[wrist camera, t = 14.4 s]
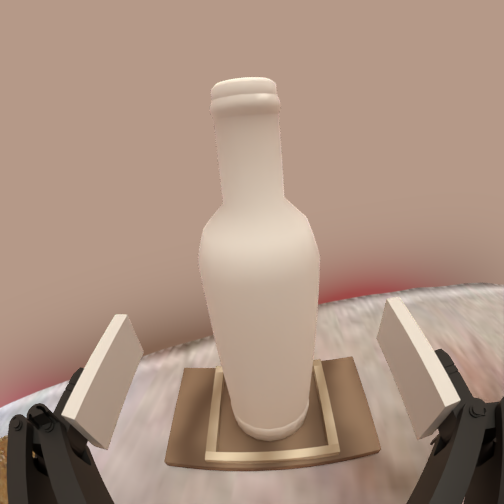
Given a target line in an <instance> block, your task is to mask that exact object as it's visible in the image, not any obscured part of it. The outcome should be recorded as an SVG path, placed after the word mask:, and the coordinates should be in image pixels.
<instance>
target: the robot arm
mask: <svg viewBox="0 0 504 504" xmlns="http://www.w3.org/2000/svg"><path fill="white" fill-rule="evenodd" d="M377 341H378V343H379V345H380V347H381V349H382V352H383V354H384V356H385V358H386V361H387V363H388V365H389V368H390V370H391V372H392V375H393V377H394V380H395V382H396V384H397V387H398V389H399V392H400V394H401V397H402V399H403V402H404V405H405V407H406V410H407V412H408V415H409V418H410V421H411V423H412V426H413V429H414V432H415V435H416V437H417V440H419V439H421V438H424V437H427V436H429V435H432V434H433V433H434V432H435V430H436V429H437V428H438V430H439V434H438V435H437V436H436V437H435V438H434V439H433V440H432V442H431V444H430V445H432V444H433V443H434V442H435V441H436V442H435V444H434V447H433V449H432V452H431V454H430V457H429V459H428V461H427V464H426V466H425V468H424V470H423V473H422V475H421V477H420V479H419V481H418V483H417V485H416V487H415V489H414V491H413V493H412V494H411V496H410V498H409V500H408V502H407V504H462V502H463V499H464V497H465V500H464V504H504V397H503V398H502V399H501V401H500V402H494V403H485V402H484V401H483V400H481V399H479V398H474V397H473V396H472V394H471V393H470V391H469V389H468V387H467V385H466V383H465V382H464V380H463V378H462V376H461V375H460V373H459V372H458V369H457V368H456V366H454V363H453V361H452V359H451V358H450V356H449V355H448V354H447V353H446V352H445V351H443V350H442V349H438V350H435V351H434V350H433V349H432V347H431V345H430V344H429V342H428V340H427V339H426V337H425V335H424V334H423V332H422V331H421V329H420V327H419V326H418V324H417V323H416V321H415V320H414V318H413V317H412V315H411V314H410V312H409V310H408V309H407V307H406V306H405V304H404V303H403V302H402V300H401V299H400V297H395V298H389V299H386V303H385V308H384V312H383V316H382V320H381V324H380V328H379V332H378V335H377ZM143 352H144V351H143V349H142V347H141V345H140V342H139V340H138V338H137V336H136V334H135V332H134V329H133V327H132V324H131V322H130V320H129V317H128V315H122V314H116V315H115V316H114V318H113V319H112V321H111V323H110V324H109V326H108V328H107V329H106V331H105V333H104V335H103V336H102V338H101V340H100V341H99V343H98V345H97V347H96V348H95V350H94V352H93V354H92V355H91V357H90V359H89V361H88V363H87V365H86V366H85V368H79V369H78V370H77V371H76V372H75V373H74V374H73V376H72V377H71V379H70V381H69V384H68V385H67V387H66V390H65V391H64V393H63V395H62V397H61V398H60V400H59V402H58V404H57V407H56V409H55V411H54V412H53V413H52V412H51V411H50V410H49V409H48V408H47V407H46V406H45V405H44V404H41V403H39V404H35V405H33V406H32V407H31V408H30V409H29V411H28V413H27V418H26V417H24V416H23V415H21V414H18V415H15V416H14V417H13V418H12V419H11V421H10V424H9V431H8V442H7V494H8V504H114V502H113V500H112V498H111V496H110V494H109V492H108V490H107V488H106V486H105V484H104V482H103V480H102V478H101V476H100V474H99V471H98V469H97V467H96V464H95V462H94V460H93V457H92V455H91V452H90V449H89V448H88V446H87V445H86V444H87V441H89V442H90V443H91V444H93V445H94V446H96V447H99V448H102V449H106V450H108V447H109V444H110V441H111V438H112V435H113V432H114V429H115V426H116V423H117V420H118V418H119V415H120V412H121V409H122V406H123V404H124V401H125V398H126V395H127V393H128V390H129V388H130V385H131V382H132V380H133V377H134V375H135V372H136V369H137V367H138V364H139V362H140V359H141V357H142V354H143ZM33 452H34V453H35V457H33Z"/></svg>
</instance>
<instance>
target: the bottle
mask: <svg viewBox="0 0 504 504" xmlns="http://www.w3.org/2000/svg"><path fill="white" fill-rule="evenodd" d="M211 100H212V102H211V105H210V115H211V116H212V118H213V120H214V129H215V138H216V147H217V156H218V165H219V173H220V182H221V190H222V199H223V204H222V205H221V206H220V207H219V209H218V210H217V211H216V212H215V213H214V215H213V216H212V217H211V219H210V220H209V221H208V222H207V224H206V225H205V227H204V229H203V232H202V237H201V242H200V247H199V255H198V265H199V270H200V275H201V280H202V285H203V289H204V294H205V299H206V303H207V307H208V312H209V316H210V321H211V325H212V329H213V334H214V338H215V342H216V346H217V350H218V354H219V358H220V362H221V366H222V369H223V373H224V377H225V381H226V384H227V388H228V392H229V395H230V399H231V406H232V409H233V413H234V416H235V419H236V421H237V422H238V425H239V427H240V428H241V429H242V430H243V431H244V432H245V433H246V434H247V435H249V436H251V437H253V438H255V439H258V440H264V441H275V440H281V439H284V438H286V437H288V436H290V435H292V434H294V433H295V432H296V431H297V430H298V429H299V428H300V427H301V426H302V425H303V422H304V420H305V417H306V413H307V410H308V407H309V391H310V383H311V375H312V366H313V356H314V346H315V335H316V323H317V309H318V292H319V272H320V253H319V250H318V247H317V243H316V240H315V237H314V234H313V232H312V229H311V226H310V224H309V221H308V219H307V217H306V216H305V215H304V214H303V213H301V212H300V211H299V210H298V209H297V208H296V207H295V206H293V205H292V204H291V203H290V202H289V201H288V200H287V199H286V198H285V197H284V185H283V184H284V183H283V166H282V151H281V137H280V124H279V112H280V109H281V103H280V99H279V98H278V96H277V89H276V83H275V82H273V81H272V80H271V79H268V78H261V77H247V78H236V79H230V80H226V81H221V82H219V83H217V84H216V85H215V86H214V87H213V88H212V89H211Z"/></svg>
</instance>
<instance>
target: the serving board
mask: <svg viewBox="0 0 504 504" xmlns="http://www.w3.org/2000/svg"><path fill="white" fill-rule="evenodd" d="M380 450H381V447H380V443H379V440H378V436H377V433H376V429H375V426H374V422H373V419H372V416H371V412H370V409H369V406H368V402H367V399H366V396H365V393H364V390H363V387H362V384H361V381H360V378H359V375H358V372H357V369H356V366H355V363H354V360H353V357H347V358H340V359H333V360H326V361H321V359H319V360H313V366H312V375H311V383H310V391H309V407H308V410H307V413H306V417H305V420H304V422H303V425H302V426H301V427H300V428H299V429H298V430H297V431H296V432H295V433H294V434H292V435H290V436H288V437H286V438H284V439H281V440H275V441H264V440H258V439H255V438H253V437H251V436H249V435H247V434H246V433H245V432H244V431H243V430H242V429H241V428H240V427H239V425H238V422H237V421H236V419H235V416H234V413H233V409H232V406H231V399H230V395H229V392H228V388H227V384H226V381H225V377H224V373H223V369H222V366H216V368H184V373H183V377H182V381H181V386H180V390H179V394H178V399H177V403H176V408H175V412H174V417H173V422H172V426H171V431H170V436H169V441H168V446H167V451H166V456H165V461H164V462H165V463H166V464H167V465H169V466H177V467H185V468H194V469H205V470H223V471H264V470H282V469H293V468H303V467H311V466H318V465H324V464H330V463H336V462H341V461H346V460H351V459H355V458H360V457H364V456H368V455H372V454H376V453H378V452H379V451H380Z"/></svg>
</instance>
